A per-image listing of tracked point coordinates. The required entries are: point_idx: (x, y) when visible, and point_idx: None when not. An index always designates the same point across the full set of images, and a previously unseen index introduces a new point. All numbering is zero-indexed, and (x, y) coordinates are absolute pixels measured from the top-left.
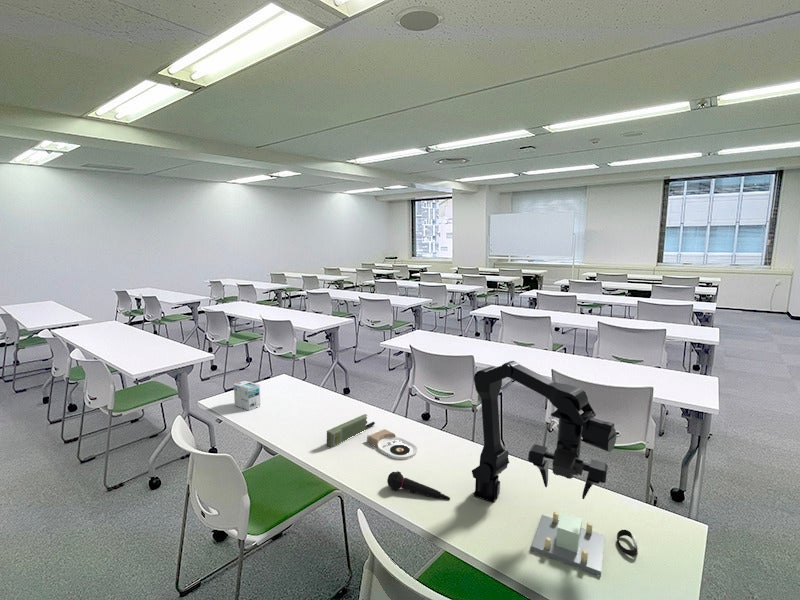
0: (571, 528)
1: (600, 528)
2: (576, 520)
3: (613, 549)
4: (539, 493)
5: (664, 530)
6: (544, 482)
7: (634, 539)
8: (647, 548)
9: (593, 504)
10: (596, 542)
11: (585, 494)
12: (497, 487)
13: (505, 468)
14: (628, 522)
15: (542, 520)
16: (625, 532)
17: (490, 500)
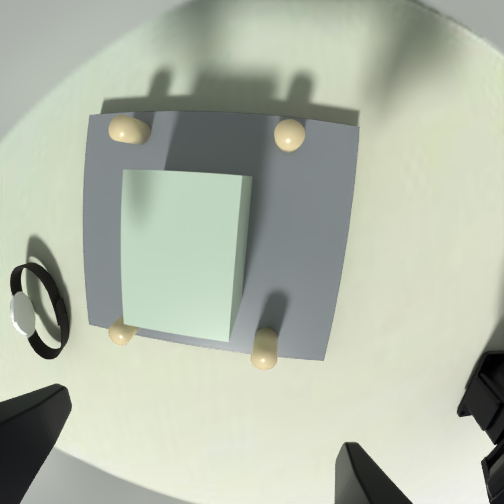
0: (161, 203)
1: (118, 367)
2: (145, 294)
3: (71, 277)
4: (325, 462)
5: (14, 390)
6: (375, 469)
7: (12, 309)
8: None
9: (159, 458)
10: (105, 271)
11: (21, 398)
12: (493, 399)
13: (492, 475)
14: None
15: (321, 325)
16: (49, 353)
17: (494, 353)
